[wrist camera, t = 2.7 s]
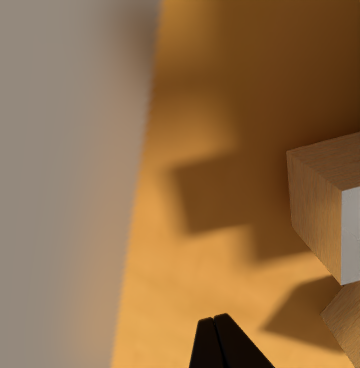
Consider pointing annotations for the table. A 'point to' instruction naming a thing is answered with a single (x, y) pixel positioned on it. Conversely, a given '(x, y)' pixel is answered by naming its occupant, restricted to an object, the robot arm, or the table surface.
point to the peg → (328, 202)
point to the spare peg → (346, 320)
